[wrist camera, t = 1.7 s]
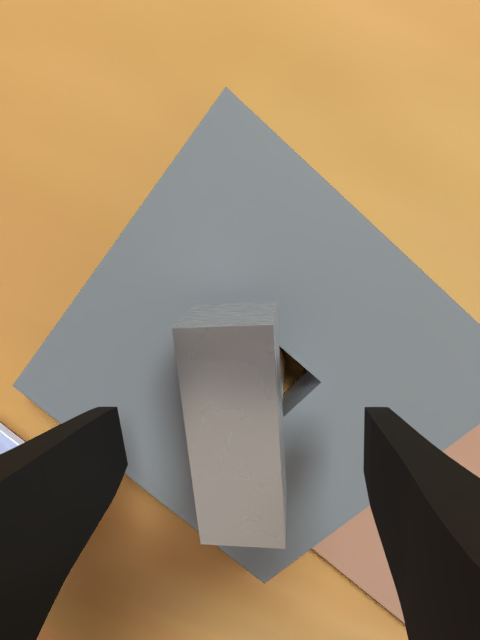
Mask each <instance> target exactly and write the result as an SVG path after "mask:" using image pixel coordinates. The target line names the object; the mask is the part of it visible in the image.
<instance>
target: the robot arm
mask: <svg viewBox="0 0 480 640" xmlns="http://www.w3.org/2000/svg"><path fill="white" fill-rule="evenodd" d="M127 466H128V462H127V456H126V451H125V446H124V440H123V435H122V430H121V424H120V419H119V414H118V409H117V407H96V408H94V409H91V410H89V411H86V412H84V413H82V414H80V415H78V416H76V417H74V418H72V419H70V420H68V421H66V422H64V423H62V424H60V425H58V426H56V427H54V428H52V429H50V430H48V431H47V432H45V433H43V434H41V435H39V436H37V437H35V438H33V439H31V440H29V441H27V442H25V441H23V440H22V439H21V438H19V437H18V436H17V435H16V434H14V433H13V432H12V431H10V430H9V429H8V428H6V427H5V426H4V425H3V424H1V423H0V640H36V639H37V637H38V635H39V632H40V630H41V628H42V626H43V624H44V622H45V620H46V618H47V616H48V613H49V611H50V609H51V607H52V605H53V603H54V601H55V599H56V597H57V595H58V593H59V591H60V589H61V587H62V585H63V583H64V581H65V579H66V577H67V576H68V574H69V572H70V570H71V568H72V567H73V565H74V563H75V562H76V560H77V558H78V557H79V555H80V553H81V552H82V550H83V548H84V547H85V545H86V543H87V542H88V540H89V538H90V537H91V535H92V533H93V532H94V530H95V529H96V527H97V525H98V524H99V522H100V520H101V519H102V517H103V515H104V513H105V512H106V510H107V508H108V507H109V505H110V503H111V501H112V500H113V498H114V496H115V494H116V492H117V490H118V488H119V485H120V483H121V481H122V478H123V476H124V473H125V471H126V468H127ZM363 471H364V476H365V482H366V488H367V493H368V498H369V503H370V507H371V511H372V514H373V517H374V520H375V524H376V527H377V530H378V533H379V537H380V540H381V543H382V546H383V549H384V552H385V556H386V559H387V562H388V565H389V568H390V571H391V575H392V578H393V581H394V584H395V587H396V590H397V594H398V598H399V601H400V605H401V609H402V612H403V617H404V621H405V626H406V630H407V635H408V639H409V640H480V478H479V477H478V476H476V475H475V474H473V473H472V472H470V471H469V470H467V469H466V468H465V467H463V466H462V465H460V464H459V463H457V462H456V461H455V460H453V459H452V458H450V457H449V456H448V455H446V454H445V453H444V452H442V451H441V450H440V449H438V448H437V447H436V446H435V445H433V444H432V443H431V442H429V441H428V440H427V439H426V438H424V437H423V436H422V435H421V434H420V433H418V432H417V431H416V430H415V429H414V428H412V427H411V426H410V425H409V424H408V423H407V422H405V421H404V420H403V419H402V418H401V417H400V416H398V415H397V414H396V413H395V412H394V411H392V410H391V409H390V408H389V407H365V411H364V470H363Z"/></svg>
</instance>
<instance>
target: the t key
mask: <svg viewBox="0 0 480 640" xmlns="http://www.w3.org/2000/svg"><path fill="white" fill-rule="evenodd" d="M172 334H173V341H174V349H175V356H176V364H177V371H178V379H179V386H180V394H181V401H182V409H183V416H184V424H185V431H186V439H187V446H188V454H189V461H190V469H191V477H192V484H193V492H194V499H195V507H196V514H197V522H198V529H199V537H200V544H204V545H223V546H241V547H260V548H278V549H285V542H286V498H287V486H286V466H285V446H284V427H283V407H282V401H283V382H284V363H285V361H284V356H283V353H282V350H281V349H280V347H279V328H278V308H277V301H261V302H238V303H215V304H195V305H194V306H193V307H192V308H191V309H190V310H189V311H188V312H187V313H186V315H185V316H184V317H183V318H182V319H181V320H180V321H179V322H178V323H177V324H176V325H175V326H174V327H173V328H172Z"/></svg>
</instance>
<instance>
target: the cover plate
mask: <svg viewBox="0 0 480 640" xmlns="http://www.w3.org/2000/svg"><path fill="white" fill-rule="evenodd" d="M261 301H277V308H278V328H279V346H280V347H281V348H282V349H284V350H285V351H286V352H287V353H288V354H289V355H290V356H292V357H293V358H294V359H295V360H296V361H297V362H299V363H300V364H301V365H302V366H303V367H304V368H305V369H307V370H308V371H307V372H306V373H305V374H304V375H303V376H302V377H301V378H300V379H299V380H297V381H296V382H295V383H294V384H293V385H292V386H291V387H290V388H289V389H288V390H287V391H286V392H285V393H284V394H283V401H282V407H283V427H284V446H285V466H286V486H287V498H286V542H285V549H278V548H260V547H241V546H223V545H216V546H217V547H218V548H220V549H221V550H222V551H223V552H225V553H226V554H227V555H228V556H230V557H231V558H232V559H234V560H235V561H236V562H237V563H239V564H240V565H241V566H242V567H244V568H245V569H246V570H248V571H249V572H250V573H251V574H253V575H254V576H255V577H256V578H258V579H259V580H260V581H262V582H263V583H266V582H267V581H268V580H270V579H271V578H272V577H274V576H275V575H276V574H278V573H279V572H280V571H282V570H283V569H284V568H286V567H287V566H289V565H290V564H291V563H293V562H294V561H295V560H297V559H298V558H299V557H301V556H302V555H303V554H305V553H306V552H307V551H309V550H310V549H311V548H313V547H314V546H316V545H317V544H318V543H320V542H321V541H322V540H324V539H325V538H326V537H328V536H329V535H330V534H332V533H333V532H334V531H336V530H337V529H338V528H340V527H341V526H343V525H344V524H345V523H347V522H348V521H349V520H351V519H352V518H353V517H355V516H356V515H357V514H359V513H360V512H361V511H363V510H364V509H365V508H367V507H368V506H369V505H370V503H369V498H368V493H367V488H366V482H365V476H364V471H363V470H364V411H365V407H389V408H390V409H391V410H392V411H394V412H395V413H396V414H397V415H398V416H400V417H401V418H402V419H403V420H404V421H405V422H407V423H408V424H409V425H410V426H411V427H412V428H414V429H415V430H416V431H417V432H418V433H420V434H421V435H422V436H423V437H424V438H426V439H427V440H428V441H429V442H431V443H432V444H433V445H435V446H436V447H437V448H438V449H440V450H441V451H444V450H445V449H446V448H448V447H449V446H450V445H452V444H453V443H455V442H456V441H457V440H459V439H460V438H461V437H463V436H464V435H465V434H467V433H468V432H469V431H471V430H472V429H473V428H475V427H476V426H477V425H479V424H480V324H479V323H478V322H477V321H475V320H474V319H473V318H472V317H471V316H470V315H469V314H468V313H467V312H466V311H465V310H464V309H463V308H462V307H461V306H459V305H458V304H457V303H456V302H455V301H454V300H453V299H452V298H451V297H450V296H449V295H448V294H447V293H446V292H445V291H443V290H442V289H441V288H440V287H439V286H438V285H437V284H436V283H435V282H434V281H433V280H432V279H431V278H430V277H428V276H427V275H426V274H425V273H424V272H423V271H422V270H421V269H420V268H419V267H418V266H417V265H416V264H415V263H414V262H412V261H411V260H410V259H409V258H408V257H407V256H406V255H405V254H404V253H403V252H402V251H401V250H400V249H399V248H398V247H396V246H395V245H394V244H393V243H392V242H391V241H390V240H389V239H388V238H387V237H386V236H385V235H384V234H383V233H381V232H380V231H379V230H378V229H377V228H376V227H375V226H374V225H373V224H372V223H371V222H370V221H369V220H368V219H367V218H365V217H364V216H363V215H362V214H361V213H360V212H359V211H358V210H357V209H356V208H355V207H354V206H353V205H352V204H351V203H349V202H348V201H347V200H346V199H345V198H344V197H343V196H342V195H341V194H340V193H339V192H338V191H337V190H336V189H334V188H333V187H332V186H331V185H330V184H329V183H328V182H327V181H326V180H325V179H324V178H323V177H322V176H321V175H320V174H318V173H317V172H316V171H315V170H314V169H313V168H312V167H311V166H310V165H309V164H308V163H307V162H306V161H305V160H304V159H302V158H301V157H300V156H299V155H298V154H297V153H296V152H295V151H294V150H293V149H292V148H291V147H290V146H289V145H287V144H286V143H285V142H284V141H283V140H282V139H281V138H280V137H279V136H278V135H277V134H276V133H275V132H274V131H273V130H271V129H270V128H269V127H268V126H267V125H266V124H265V123H264V122H263V121H262V120H261V119H260V118H259V117H258V116H257V115H255V114H254V113H253V112H252V111H251V110H250V109H249V108H248V107H247V106H246V105H245V104H244V103H243V102H242V101H240V100H239V99H238V98H237V97H236V96H235V95H234V94H233V93H232V92H231V91H230V90H229V89H228V88H227V87H225V89H224V90H223V91H222V93H221V94H220V96H219V97H218V98H217V100H216V101H215V103H214V104H213V105H212V107H211V108H210V110H209V111H208V112H207V114H206V115H205V117H204V118H203V119H202V121H201V122H200V124H199V125H198V126H197V128H196V129H195V131H194V132H193V133H192V135H191V136H190V138H189V139H188V140H187V142H186V143H185V145H184V146H183V147H182V149H181V150H180V152H179V153H178V154H177V156H176V157H175V159H174V160H173V161H172V163H171V164H170V166H169V167H168V168H167V170H166V171H165V173H164V174H163V176H162V177H161V178H160V180H159V181H158V183H157V184H156V185H155V187H154V188H153V190H152V191H151V192H150V194H149V195H148V197H147V198H146V199H145V201H144V202H143V204H142V205H141V206H140V208H139V209H138V211H137V212H136V213H135V215H134V216H133V218H132V219H131V220H130V222H129V223H128V225H127V226H126V227H125V229H124V230H123V232H122V233H121V234H120V236H119V237H118V239H117V240H116V241H115V243H114V244H113V246H112V247H111V248H110V250H109V251H108V253H107V254H106V255H105V257H104V258H103V260H102V261H101V262H100V264H99V265H98V267H97V268H96V269H95V271H94V272H93V274H92V275H91V276H90V278H89V279H88V281H87V282H86V283H85V285H84V286H83V288H82V289H81V290H80V292H79V293H78V295H77V296H76V298H75V299H74V300H73V302H72V303H71V305H70V306H69V307H68V309H67V310H66V312H65V313H64V314H63V316H62V317H61V319H60V320H59V321H58V323H57V324H56V326H55V327H54V328H53V330H52V331H51V333H50V334H49V335H48V337H47V338H46V340H45V341H44V342H43V344H42V345H41V347H40V348H39V349H38V351H37V352H36V354H35V355H34V356H33V358H32V359H31V361H30V362H29V363H28V365H27V366H26V368H25V369H24V370H23V372H22V373H21V375H20V376H19V377H18V379H17V380H16V382H15V383H14V384H13V386H14V387H15V388H16V389H17V390H19V391H20V392H21V393H23V394H24V395H25V396H26V397H28V398H29V399H30V400H31V401H33V402H34V403H35V404H36V405H38V406H39V407H40V408H42V409H43V410H44V411H45V412H47V413H48V414H49V415H50V416H52V417H53V418H54V419H56V420H57V421H58V422H59V423H61V424H62V423H64V422H66V421H68V420H70V419H72V418H74V417H76V416H78V415H80V414H82V413H84V412H86V411H89V410H91V409H94V408H96V407H117V409H118V414H119V419H120V424H121V430H122V435H123V440H124V446H125V451H126V456H127V462H128V466H127V468H126V471H125V473H124V474H125V475H127V476H128V477H129V478H131V479H132V480H133V481H134V482H136V483H137V484H138V485H139V486H141V487H142V488H143V489H145V490H146V491H147V492H148V493H150V494H151V495H152V496H153V497H155V498H156V499H157V500H159V501H160V502H161V503H162V504H164V505H165V506H166V507H167V508H169V509H170V510H171V511H173V512H174V513H175V514H176V515H178V516H179V517H180V518H181V519H183V520H184V521H185V522H187V523H188V524H189V525H190V526H192V527H193V528H194V529H195V530H197V531H198V532H199V529H198V522H197V514H196V507H195V499H194V492H193V484H192V477H191V469H190V461H189V454H188V446H187V439H186V431H185V424H184V416H183V409H182V401H181V394H180V386H179V379H178V371H177V364H176V356H175V349H174V341H173V334H172V328H173V327H174V326H175V325H176V324H177V323H178V322H179V321H180V320H181V319H182V318H183V317H184V316H185V315H186V313H187V312H188V311H189V310H190V309H191V308H192V307H193V306H194V305H195V304H215V303H238V302H261Z"/></svg>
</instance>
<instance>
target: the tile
mask: <svg viewBox="0 0 480 640" xmlns="http://www.w3.org/2000/svg"><path fill="white" fill-rule="evenodd" d="M442 452H444V453H445V454H446V455H448V456H449V457H450V458H452V459H453V460H455V461H456V462H457V463H459V464H460V465H462V466H463V467H465V468H466V469H467V470H469V471H470V472H472V473H473V474H475V475H476V476H478V477H479V478H480V424H479V425H477V426H476V427H475V428H473V429H472V430H471V431H469V432H468V433H467V434H465V435H464V436H463V437H461V438H460V439H459V440H457V441H456V442H455V443H453V444H452V445H450V446H449V447H448V448H446V449H445V450H444V451H442ZM312 549H313V550H315V551H316V552H317V553H318V554H320V555H321V556H322V557H323V558H324V559H326V560H327V561H328V562H329V563H331V564H332V565H333V566H334V567H336V568H337V569H338V570H339V571H341V572H342V573H343V574H344V575H345V576H347V577H348V578H349V579H350V580H352V581H353V582H354V583H355V584H357V585H358V586H359V587H360V588H361V589H363V590H364V591H365V592H366V593H368V594H369V595H370V596H371V597H373V598H374V599H375V600H376V601H378V602H379V603H380V604H381V605H382V606H384V607H385V608H386V609H387V610H389V611H390V612H391V613H392V614H394V615H395V616H396V617H397V618H398V619H400V620H401V621H402V622H403V623H405V621H404V617H403V612H402V609H401V605H400V601H399V598H398V594H397V590H396V587H395V584H394V581H393V578H392V575H391V571H390V568H389V565H388V562H387V559H386V556H385V552H384V549H383V546H382V543H381V540H380V537H379V533H378V530H377V527H376V524H375V520H374V517H373V514H372V511H371V507H370V505H369V506H368V507H367V508H365V509H364V510H363V511H361V512H360V513H359V514H357V515H356V516H355V517H353V518H352V519H351V520H349V521H348V522H347V523H345V524H344V525H343V526H341V527H340V528H338V529H337V530H336V531H334V532H333V533H332V534H330V535H329V536H328V537H326V538H325V539H324V540H322V541H321V542H320V543H318V544H317V545H316V546H314V547H313V548H312Z"/></svg>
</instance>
